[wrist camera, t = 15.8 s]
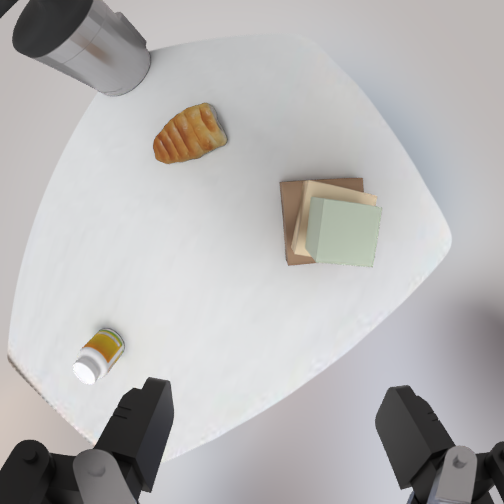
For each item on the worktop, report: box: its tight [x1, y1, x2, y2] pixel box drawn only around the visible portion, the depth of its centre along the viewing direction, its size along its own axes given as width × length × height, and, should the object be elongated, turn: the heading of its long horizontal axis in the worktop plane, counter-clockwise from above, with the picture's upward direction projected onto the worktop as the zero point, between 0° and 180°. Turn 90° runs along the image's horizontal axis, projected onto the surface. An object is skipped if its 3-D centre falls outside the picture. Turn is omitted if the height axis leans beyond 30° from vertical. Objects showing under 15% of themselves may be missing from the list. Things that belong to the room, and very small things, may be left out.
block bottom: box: [280, 178, 364, 266], centre depth 34 cm, size 10×10×4 cm
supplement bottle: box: [73, 329, 124, 385], centre depth 36 cm, size 5×5×10 cm
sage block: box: [305, 197, 382, 267], centre depth 26 cm, size 6×6×6 cm
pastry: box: [153, 103, 227, 164], centre depth 32 cm, size 9×7×4 cm
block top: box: [291, 180, 377, 257], centre depth 31 cm, size 8×8×4 cm
